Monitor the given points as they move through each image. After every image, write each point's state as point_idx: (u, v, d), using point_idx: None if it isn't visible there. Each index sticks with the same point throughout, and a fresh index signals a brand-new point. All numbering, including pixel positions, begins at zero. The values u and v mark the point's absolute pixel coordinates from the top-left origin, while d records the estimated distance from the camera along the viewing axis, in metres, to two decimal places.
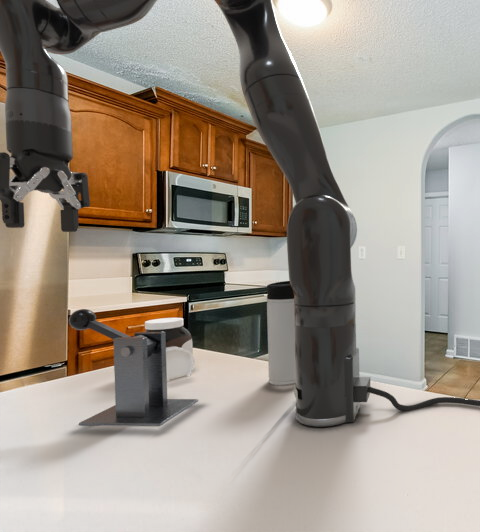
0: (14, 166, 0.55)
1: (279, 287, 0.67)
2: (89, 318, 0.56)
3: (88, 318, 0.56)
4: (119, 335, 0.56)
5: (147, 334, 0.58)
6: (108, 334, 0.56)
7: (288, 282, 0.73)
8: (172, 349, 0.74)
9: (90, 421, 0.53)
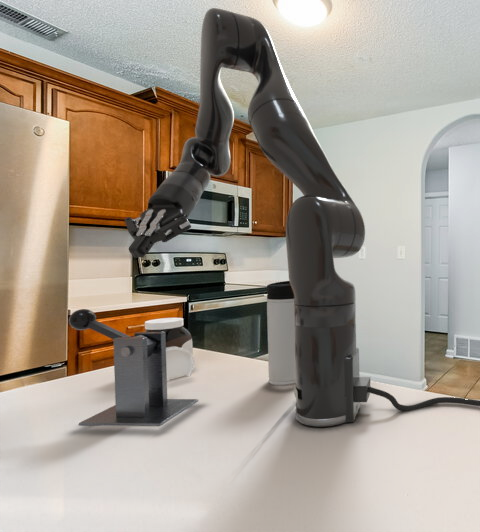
0: None
1: (279, 287, 0.67)
2: (89, 318, 0.56)
3: (88, 318, 0.56)
4: (119, 335, 0.56)
5: (147, 334, 0.58)
6: (108, 334, 0.56)
7: (288, 282, 0.73)
8: (172, 349, 0.74)
9: (90, 421, 0.53)
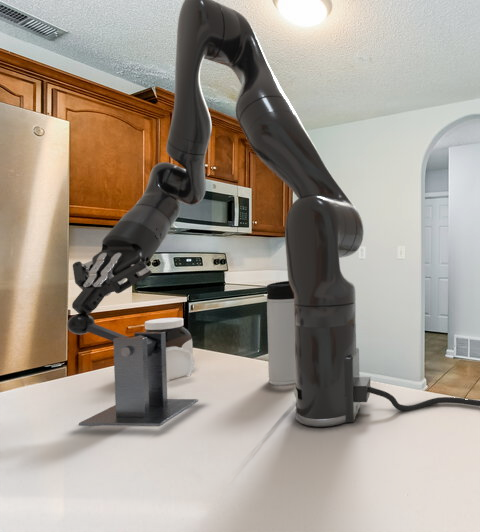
0: None
1: (279, 287, 0.67)
2: (87, 322, 0.56)
3: (86, 322, 0.56)
4: (118, 336, 0.56)
5: (147, 334, 0.58)
6: (107, 336, 0.56)
7: (288, 282, 0.73)
8: (172, 349, 0.74)
9: (90, 421, 0.53)
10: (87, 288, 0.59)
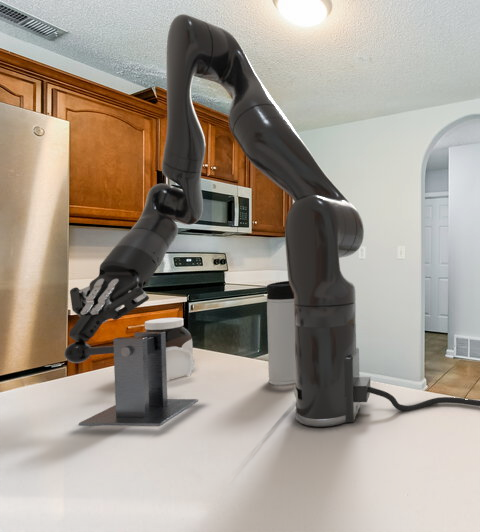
0: None
1: (279, 287, 0.67)
2: (82, 346, 0.57)
3: (81, 347, 0.56)
4: None
5: (147, 334, 0.58)
6: (105, 350, 0.56)
7: (288, 282, 0.73)
8: (172, 349, 0.74)
9: (90, 421, 0.53)
10: (84, 316, 0.59)
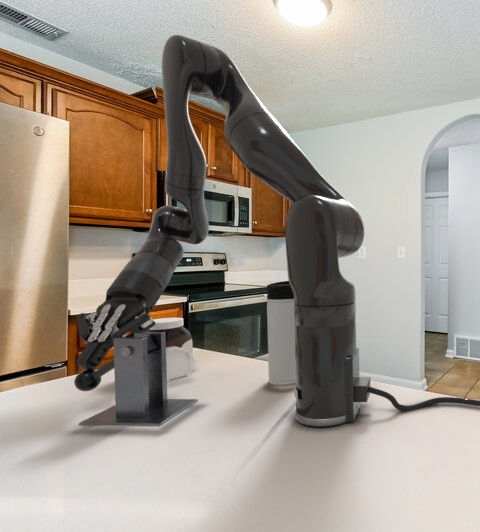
0: None
1: (279, 287, 0.67)
2: (89, 372, 0.57)
3: (88, 372, 0.57)
4: None
5: (147, 334, 0.58)
6: (111, 365, 0.56)
7: (288, 282, 0.73)
8: (172, 349, 0.74)
9: (90, 421, 0.53)
10: (91, 343, 0.59)
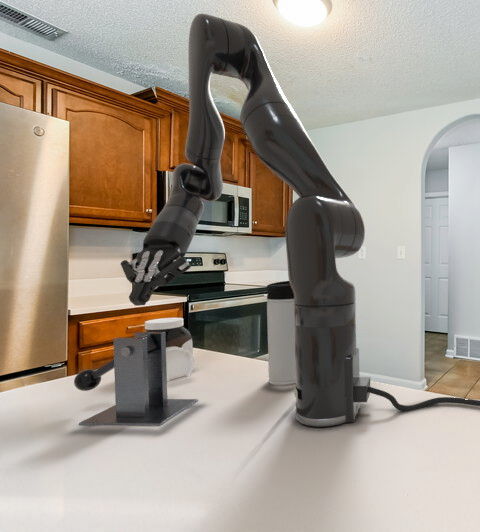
0: None
1: (279, 287, 0.67)
2: (89, 372, 0.57)
3: (88, 372, 0.57)
4: None
5: (147, 334, 0.58)
6: (110, 365, 0.56)
7: (288, 282, 0.73)
8: (172, 349, 0.74)
9: (90, 421, 0.53)
10: (139, 283, 0.67)
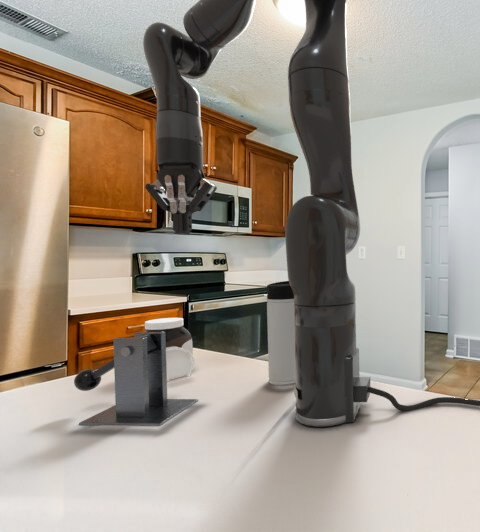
0: None
1: (279, 287, 0.67)
2: (89, 372, 0.57)
3: (88, 372, 0.57)
4: None
5: (147, 334, 0.58)
6: (110, 365, 0.56)
7: (288, 282, 0.73)
8: (172, 349, 0.74)
9: (90, 421, 0.53)
10: (176, 214, 0.69)
